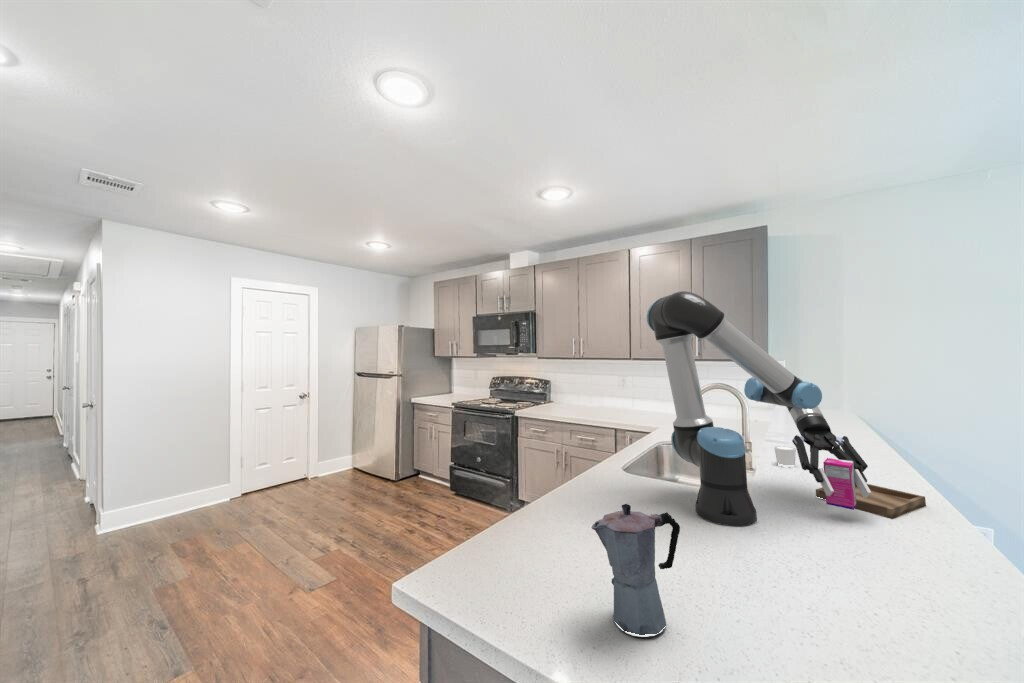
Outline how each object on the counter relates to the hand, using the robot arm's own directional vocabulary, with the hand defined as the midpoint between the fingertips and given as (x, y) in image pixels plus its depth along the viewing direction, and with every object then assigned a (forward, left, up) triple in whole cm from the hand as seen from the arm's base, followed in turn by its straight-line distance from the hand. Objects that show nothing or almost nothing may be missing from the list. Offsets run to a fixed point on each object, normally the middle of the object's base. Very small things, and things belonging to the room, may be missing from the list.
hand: (848, 494), depth 101 cm
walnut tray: (+21, +5, -7) cm, 23 cm away
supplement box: (+2, +3, -4) cm, 5 cm away
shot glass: (+38, +39, -8) cm, 55 cm away
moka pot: (-73, -4, -8) cm, 74 cm away
